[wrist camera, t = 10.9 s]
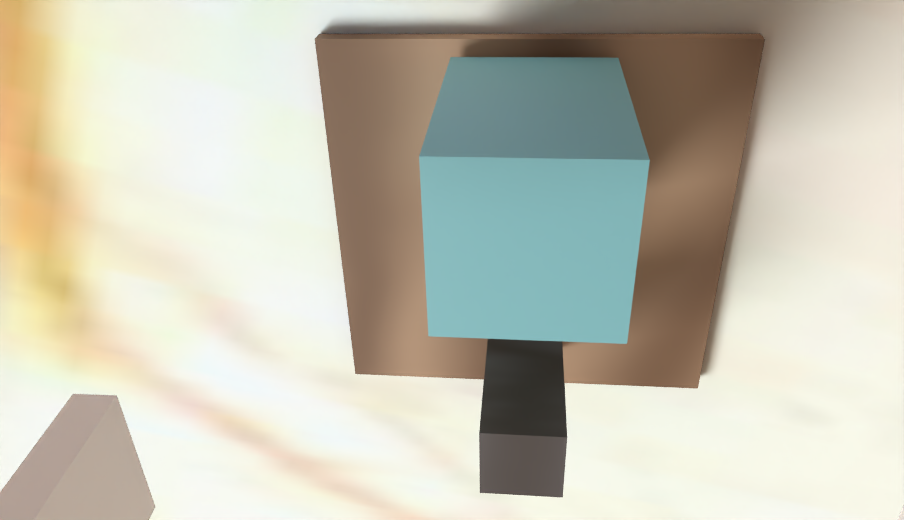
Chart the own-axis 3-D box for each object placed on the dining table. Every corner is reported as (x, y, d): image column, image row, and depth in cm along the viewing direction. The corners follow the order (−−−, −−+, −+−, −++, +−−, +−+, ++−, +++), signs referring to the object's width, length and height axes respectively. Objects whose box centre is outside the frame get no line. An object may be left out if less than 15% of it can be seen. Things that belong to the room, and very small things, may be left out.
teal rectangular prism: (454, 203, 26) (428, 336, 20) (450, 57, 24) (418, 155, 17) (604, 206, 26) (627, 343, 20) (618, 57, 23) (649, 159, 17)
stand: (358, 364, 32) (311, 517, 25) (319, 33, 25) (238, 126, 18) (695, 378, 31) (739, 543, 24) (759, 33, 23) (850, 132, 17)
